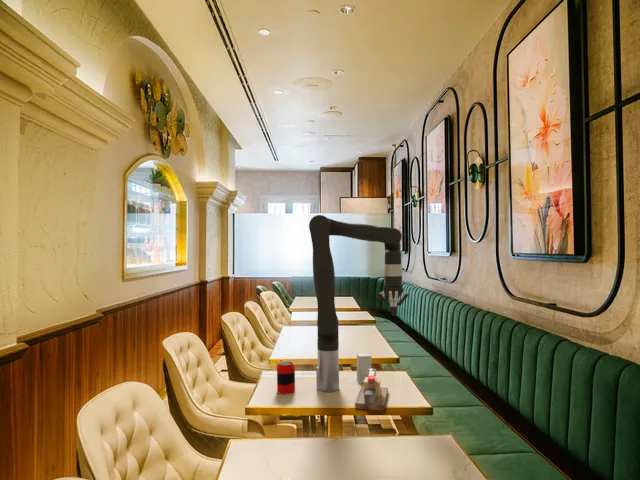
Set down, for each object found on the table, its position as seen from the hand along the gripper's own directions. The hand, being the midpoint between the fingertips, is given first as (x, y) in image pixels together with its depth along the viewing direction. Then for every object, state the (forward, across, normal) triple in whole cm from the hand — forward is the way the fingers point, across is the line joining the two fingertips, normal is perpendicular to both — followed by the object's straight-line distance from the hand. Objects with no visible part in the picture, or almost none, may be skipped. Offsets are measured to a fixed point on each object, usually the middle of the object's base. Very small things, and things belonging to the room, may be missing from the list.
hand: (393, 315), depth 177 cm
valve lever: (+22, +9, +17) cm, 30 cm away
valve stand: (+32, +9, +12) cm, 35 cm away
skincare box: (+32, +13, -9) cm, 36 cm away
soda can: (+32, +46, +7) cm, 56 cm away
